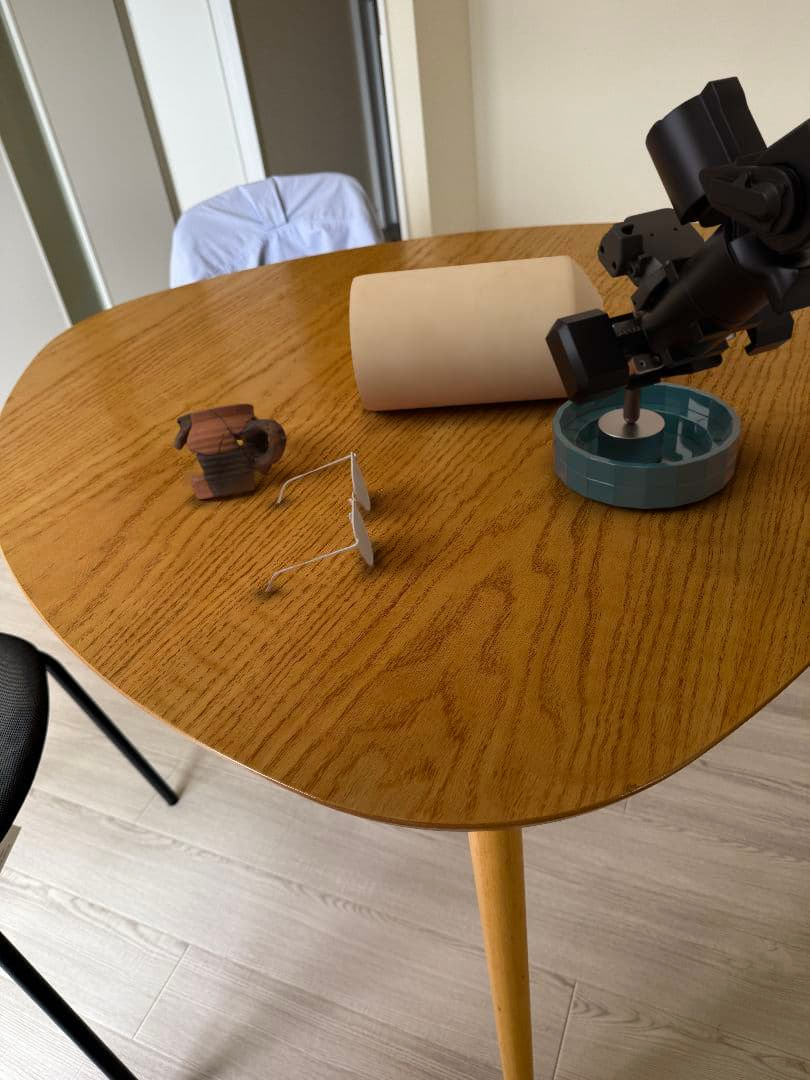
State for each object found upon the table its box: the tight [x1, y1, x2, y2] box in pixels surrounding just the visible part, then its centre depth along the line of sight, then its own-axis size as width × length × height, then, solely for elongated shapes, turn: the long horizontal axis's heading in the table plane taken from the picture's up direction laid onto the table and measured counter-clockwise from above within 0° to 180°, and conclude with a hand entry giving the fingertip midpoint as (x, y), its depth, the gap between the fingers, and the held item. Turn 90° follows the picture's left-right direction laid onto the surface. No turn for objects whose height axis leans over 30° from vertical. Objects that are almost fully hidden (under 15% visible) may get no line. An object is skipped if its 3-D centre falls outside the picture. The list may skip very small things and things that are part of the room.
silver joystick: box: [597, 309, 665, 464], centre depth 66 cm, size 6×6×13 cm
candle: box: [348, 254, 606, 412], centre depth 80 cm, size 14×14×25 cm
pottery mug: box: [173, 403, 288, 500], centre depth 75 cm, size 12×10×8 cm
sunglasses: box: [265, 451, 374, 593], centre depth 65 cm, size 14×8×5 cm, turn 4°
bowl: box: [551, 381, 742, 510], centre depth 68 cm, size 15×15×4 cm
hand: (624, 378), depth 67 cm, fingers closed on silver joystick
